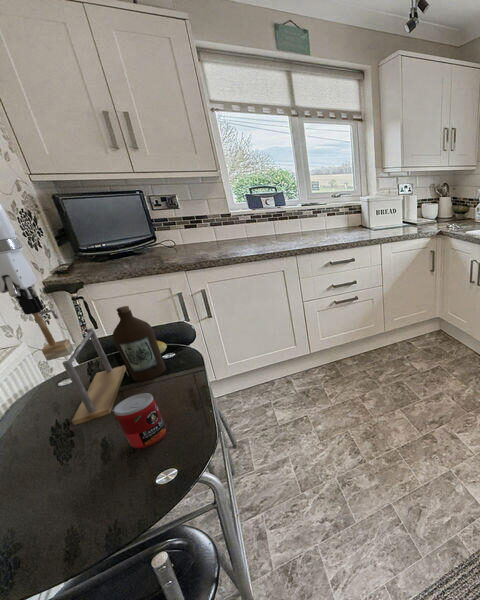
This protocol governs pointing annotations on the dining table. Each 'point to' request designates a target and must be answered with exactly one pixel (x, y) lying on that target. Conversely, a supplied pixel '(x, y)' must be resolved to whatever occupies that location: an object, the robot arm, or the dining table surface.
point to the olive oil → (138, 346)
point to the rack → (95, 384)
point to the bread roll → (161, 346)
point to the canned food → (140, 420)
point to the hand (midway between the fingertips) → (34, 311)
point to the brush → (52, 339)
